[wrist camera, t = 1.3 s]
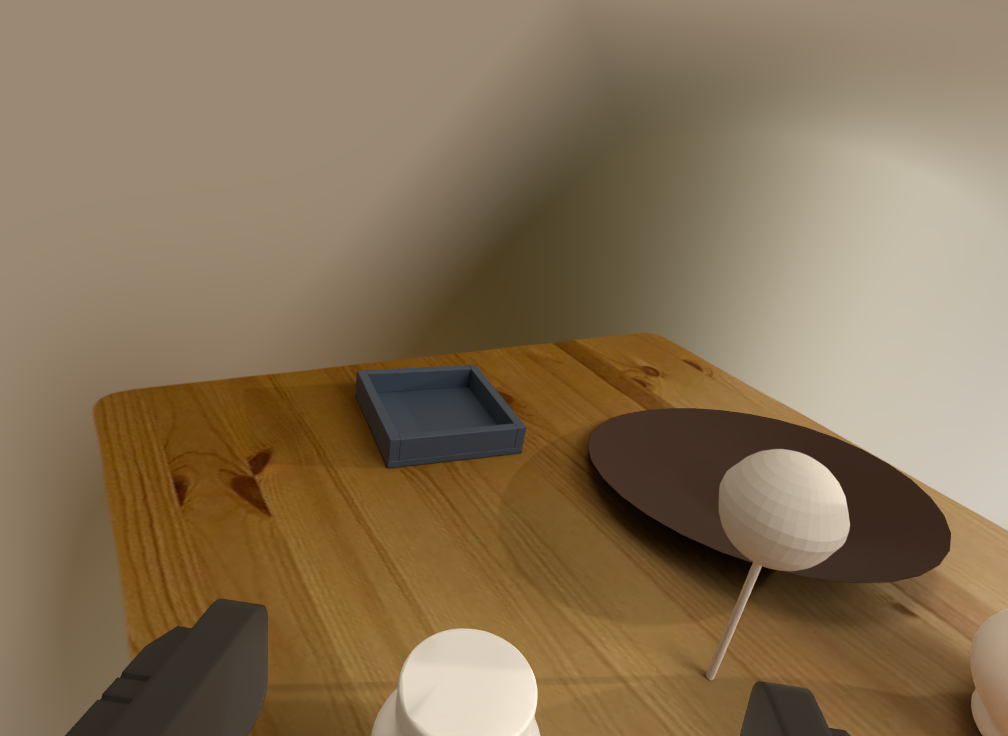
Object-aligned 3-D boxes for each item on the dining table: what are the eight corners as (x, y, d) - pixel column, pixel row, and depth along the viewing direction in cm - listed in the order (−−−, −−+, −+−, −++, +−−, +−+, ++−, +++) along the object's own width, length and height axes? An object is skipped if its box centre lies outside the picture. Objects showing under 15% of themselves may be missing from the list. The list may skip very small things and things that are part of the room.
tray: (387, 468, 50) (390, 440, 49) (355, 395, 59) (357, 370, 58) (521, 453, 55) (526, 427, 54) (472, 388, 64) (475, 364, 63)
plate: (745, 398, 72) (756, 369, 71) (1005, 573, 51) (1029, 537, 49) (527, 424, 60) (534, 389, 58) (749, 673, 38) (770, 628, 36)
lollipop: (636, 651, 38) (711, 434, 32) (706, 621, 41) (788, 418, 35) (713, 743, 33) (819, 511, 27) (786, 703, 36) (897, 486, 30)
